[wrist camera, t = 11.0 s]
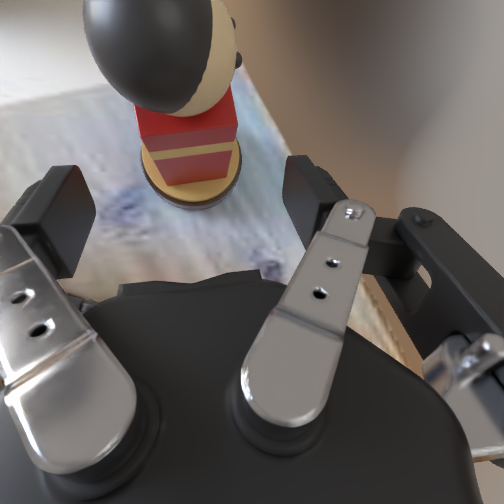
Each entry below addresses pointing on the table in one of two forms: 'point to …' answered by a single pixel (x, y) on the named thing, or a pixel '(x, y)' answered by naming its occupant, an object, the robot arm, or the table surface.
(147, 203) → the table surface
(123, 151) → the table surface
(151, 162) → the doll
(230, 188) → the swivel stand
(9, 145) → the table surface
